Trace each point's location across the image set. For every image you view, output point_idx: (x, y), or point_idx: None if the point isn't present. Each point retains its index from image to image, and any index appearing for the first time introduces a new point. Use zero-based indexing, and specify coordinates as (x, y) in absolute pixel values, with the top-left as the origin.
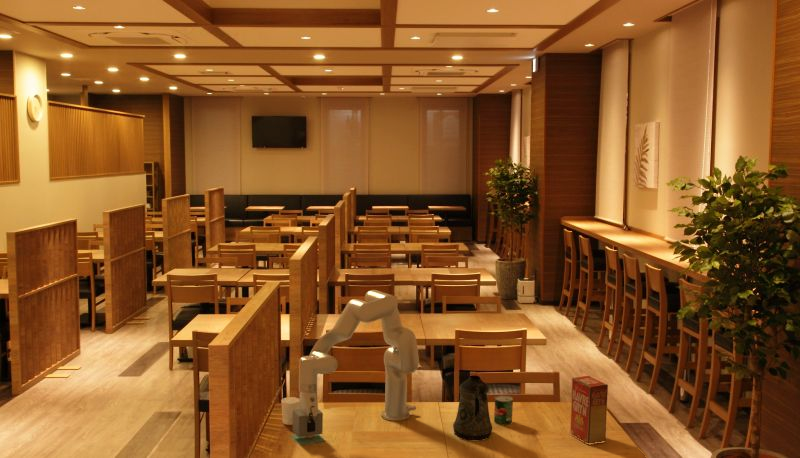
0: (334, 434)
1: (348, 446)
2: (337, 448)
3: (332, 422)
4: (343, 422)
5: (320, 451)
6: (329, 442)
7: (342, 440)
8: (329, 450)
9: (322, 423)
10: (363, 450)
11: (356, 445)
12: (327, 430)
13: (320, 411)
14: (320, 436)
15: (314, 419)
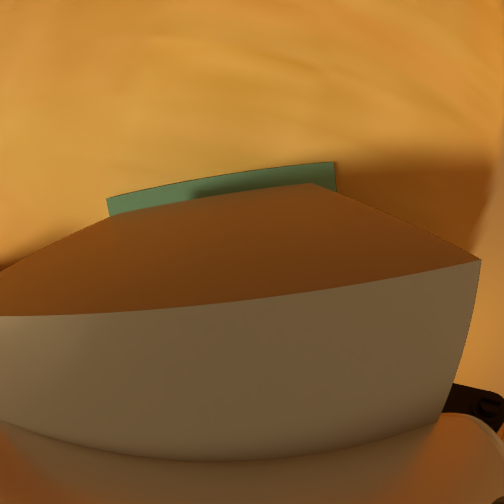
0: (207, 52)
1: (455, 53)
2: (471, 130)
3: (9, 69)
4: (35, 7)
5: (472, 251)
6: (370, 138)
7: (354, 34)
8: (480, 192)
9: (346, 198)
10: (498, 25)
11: (445, 9)
12: (106, 98)
13: (269, 317)
14: (229, 179)
15: (498, 412)
